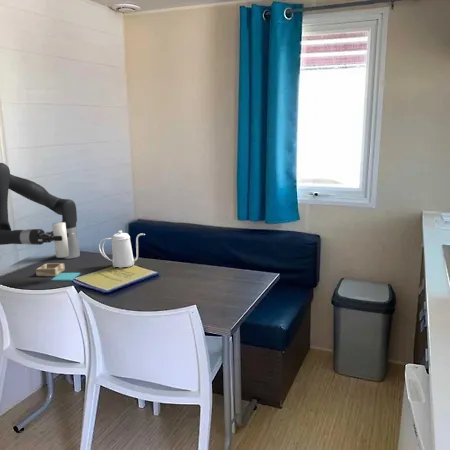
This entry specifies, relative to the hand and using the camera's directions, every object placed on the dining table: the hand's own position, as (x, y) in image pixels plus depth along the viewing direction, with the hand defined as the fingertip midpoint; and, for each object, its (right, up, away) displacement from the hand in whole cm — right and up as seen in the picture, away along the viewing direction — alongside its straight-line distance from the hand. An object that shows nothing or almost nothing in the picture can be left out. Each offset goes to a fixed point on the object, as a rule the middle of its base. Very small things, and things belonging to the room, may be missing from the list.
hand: (65, 236), depth 217 cm
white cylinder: (-2, -9, +2) cm, 10 cm away
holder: (-12, -19, +13) cm, 26 cm away
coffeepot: (+24, -16, +19) cm, 35 cm away
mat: (-1, -20, +5) cm, 21 cm away
